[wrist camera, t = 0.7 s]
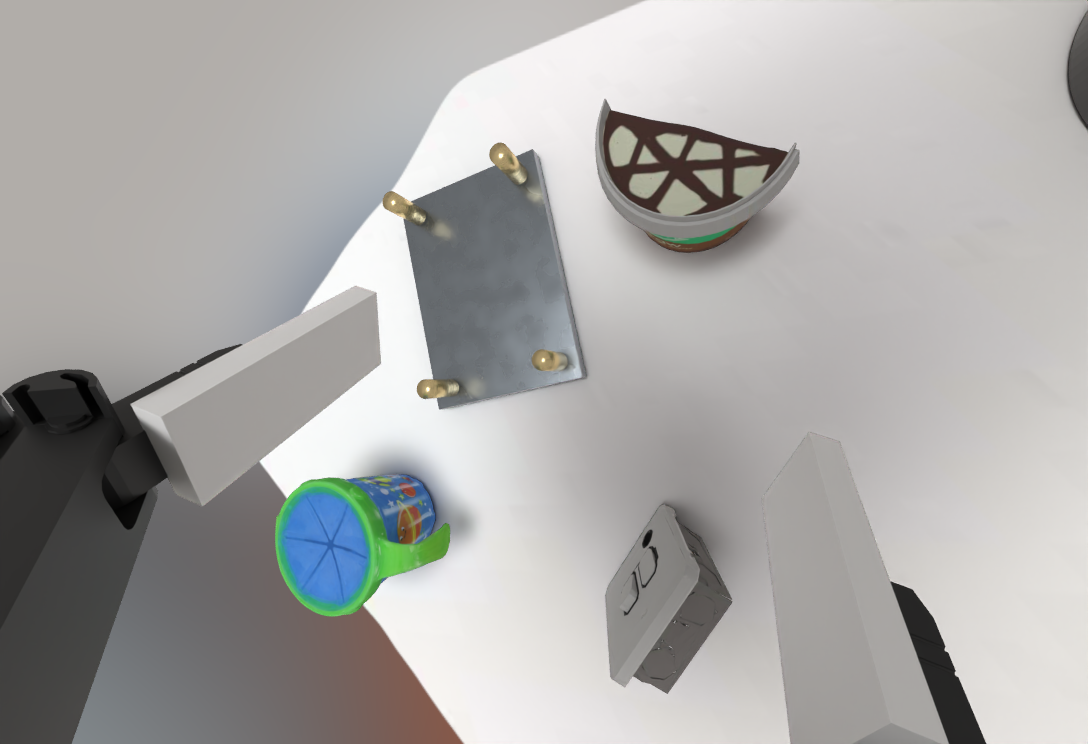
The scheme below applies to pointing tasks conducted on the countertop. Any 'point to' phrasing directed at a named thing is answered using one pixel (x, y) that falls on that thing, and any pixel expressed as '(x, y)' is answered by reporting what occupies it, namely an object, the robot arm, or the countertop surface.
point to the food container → (685, 179)
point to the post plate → (490, 284)
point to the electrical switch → (662, 604)
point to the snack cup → (354, 538)
